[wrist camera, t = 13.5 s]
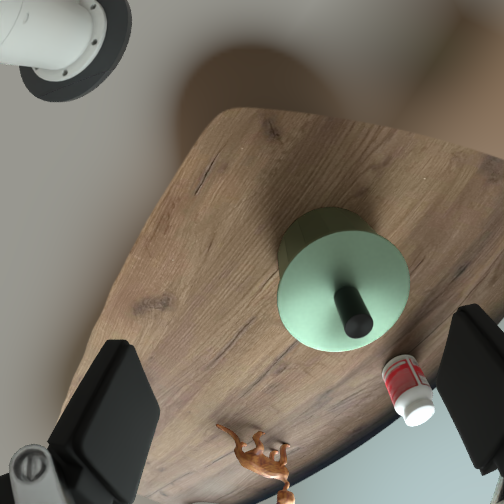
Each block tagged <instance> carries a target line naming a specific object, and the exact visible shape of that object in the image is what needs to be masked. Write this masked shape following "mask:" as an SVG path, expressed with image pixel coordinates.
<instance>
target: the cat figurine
mask: <svg viewBox="0 0 504 504" xmlns="http://www.w3.org/2000/svg"><path fill="white" fill-rule="evenodd" d="M216 427H218V428H219V429H221V430H223V431H225V432H227V433H228V434H229V435H231V436H232V437H233V439H234V440H235V443H236V448H235V449H234V452H235V455H236V457H237V459H238V460H239V462H240V464H241V465H242V466H243V467H245V468H247V469H249V470H251V471H253V472H255V473H257V474H259V475H262V476H264V477H267V478H277V479H279V480H282V481H283V482H284V483H285V486H284V488H283V490H280V491H278V495H277V504H294V503H295V499H294V494H293V493H292V492H289V491H287V489H288V487H289V486H290V483H289V482H288V481H287V477H288V475H289V471H288V470H287V468H286V467H285V464H286V463H287V456H286V447H290V445H288V444H283V445H282V446H281V447H280V457H281V458H280V460H279V462H277V461H274V455H275V454H278V453H279V451H276V450H275V451H272V452H270V456H269V458H268V457H266V456H265V455H264V454H263V451H264V446H263V444H262V442H261V441H260V440H259V438H260V437H261V435H264V434H265V433H264V432H262V431H258V432H257V433H255V434H254V435H253V440H254V442H255V444H256V448H254V449H252V450H250V451H248V452H245V453H244V452H243V451H242V447H243V446H247V444H246V443H244V442H240V440H239V438H238V436H237V435H236V434H235V433H234V432H233V431H231V430H230V429H228V428H226V427H224V426H222V425H219V424H216Z"/></svg>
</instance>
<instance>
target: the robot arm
mask: <svg viewBox="0 0 504 504" xmlns="http://www.w3.org/2000/svg"><path fill="white" fill-rule="evenodd" d="M106 30H107V18H106V13H105V11H104V8H103V7H102V6H101V4H100V3H99V2H97V1H96V0H0V64H10V65H19V66H27V67H32V69H33V70H34V72H35V73H36V74H37V75H38V76H39V77H40V78H42V79H44V80H48V81H55V82H58V81H64V80H67V79H70V78H72V77H74V76H76V75H77V74H79V73H80V72H81V71H83V70H84V69H85V68H86V67H87V66H88V65H89V64H90V63H91V62H92V61H93V59H94V58H95V57H96V55H97V54H98V52H99V50H100V48H101V46H102V44H103V41H104V39H105V35H106ZM436 387H437V390H438V392H439V394H440V396H441V397H442V400H443V402H444V404H445V405H446V407H447V409H448V411H449V413H450V416H451V418H452V419H453V422H454V424H455V426H456V428H457V430H458V432H459V434H460V436H461V438H462V440H463V443H464V445H465V447H466V449H467V452H468V454H469V456H470V458H471V461H472V463H473V465H474V467H475V468H476V469H480V472H481V474H482V476H483V475H486V474H488V473H490V472H492V471H494V470H496V469H497V468H498V470H499V472H500V476H499V480H498V483H497V486H496V489H495V492H494V495H493V498H492V501H491V503H490V504H504V332H503V331H502V330H501V329H500V328H499V327H498V326H497V325H496V323H495V322H494V321H493V320H492V319H491V318H490V317H489V316H488V315H487V314H486V313H485V312H484V310H483V309H482V308H481V307H480V306H479V305H477V304H470V305H465V306H461V307H459V308H458V309H457V312H456V313H454V314H453V317H452V321H451V325H450V330H449V334H448V338H447V342H446V346H445V349H444V353H443V357H442V360H441V364H440V367H439V370H438V374H437V377H436ZM159 416H160V408H159V405H158V402H157V400H156V398H155V396H154V394H153V391H152V389H151V387H150V384H149V382H148V380H147V377H146V375H145V372H144V370H143V368H142V365H141V363H140V360H139V358H138V355H137V353H136V350H135V348H134V346H133V345H129V343H128V341H127V340H107V341H106V342H105V344H104V345H103V347H102V348H101V350H100V352H99V353H98V355H97V356H96V358H95V360H94V361H93V363H92V365H91V366H90V368H89V369H88V371H87V373H86V374H85V376H84V378H83V379H82V381H81V383H80V384H79V386H78V388H77V390H76V391H75V393H74V395H73V396H72V398H71V400H70V402H69V403H68V405H67V407H66V409H65V410H64V412H63V414H62V416H61V417H60V419H59V421H58V423H57V425H56V426H55V428H54V430H53V432H52V434H51V436H50V438H49V439H48V441H47V442H48V443H49V446H48V448H47V449H46V448H45V447H43V446H41V445H37V444H31V445H27V446H24V447H22V448H20V449H19V450H18V451H17V452H16V453H15V454H14V455H13V457H12V458H11V461H10V464H9V473H7V474H4V475H2V476H0V504H132V503H133V502H134V500H135V497H136V493H137V490H138V486H139V483H140V479H141V476H142V472H143V469H144V466H145V462H146V459H147V456H148V452H149V449H150V446H151V442H152V439H153V436H154V433H155V429H156V426H157V423H158V420H159Z"/></svg>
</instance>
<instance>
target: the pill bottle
mask: <svg viewBox="0 0 504 504" xmlns="http://www.w3.org/2000/svg"><path fill="white" fill-rule="evenodd" d="M382 376H383V379H384V382H385V385H386V387H387V390H388V392H389V395H390V397H391V400H392V402H393V405H394V408H395V410H396V412H397V413H398V414H399V415H401V416H403V418H404V420H405V423H406V424H407V425H408V426H416V425H419V424H422V423H424V422H425V421H427V420H428V419H429V418H430V417H431V416H432V415H433V414H434V411H435V407H434V405H433V402H432V398H433V392H432V389H431V387H430V385H429V384H428V382H427V380H426V378H425V376H424V374H423V372H422V370H421V369H420V367H419V365H418V363H417V361H416V360H415V358H414V357H413V356H411V355H400V356H397V357H394V358H393V359H391V360H390V361H389V362H388V363H387V364H386V365H385V367H384V369H383V372H382Z"/></svg>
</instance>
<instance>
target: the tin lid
mask: <svg viewBox="0 0 504 504" xmlns="http://www.w3.org/2000/svg"><path fill="white" fill-rule="evenodd" d="M409 290H410V276H409V270H408V266H407V264H406V262H405V259H404V257H403V256H402V254H401V253H400V251H399V250H398V249H397V248H396V247H395V246H394V245H393V244H392V243H391V242H390V241H389V240H387V239H386V238H384V237H382V236H381V235H379V234H376V233H374V232H371V231H367V230H361V229H343V230H336V231H333V232H329V233H326V234H324V235H321V236H319V237H317V238H315V239H314V240H312V241H310V242H309V243H307V244H306V245H305V246H303V247H302V248H301V249H300V250H299V251H298V252H297V253H296V254H295V255H294V256H293V257H292V258H291V260H290V261H289V262H288V264H287V266H286V267H285V269H284V271H283V273H282V275H281V278H280V281H279V285H278V290H277V306H278V311H279V315H280V318H281V320H282V322H283V324H284V326H285V327H286V329H287V330H288V331H289V333H290V334H291V335H292V336H293V337H294V338H296V339H297V340H298V341H300V342H301V343H303V344H305V345H307V346H309V347H312V348H314V349H318V350H322V351H332V352H338V351H347V350H352V349H356V348H359V347H362V346H364V345H367V344H369V343H371V342H373V341H374V340H376V339H377V338H379V337H380V336H382V335H383V334H384V333H385V332H387V331H388V330H389V329H390V328H391V327H392V326H393V325H394V323H395V322H396V321H397V319H398V318H399V317H400V315H401V313H402V312H403V309H404V307H405V305H406V302H407V299H408V296H409Z"/></svg>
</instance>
